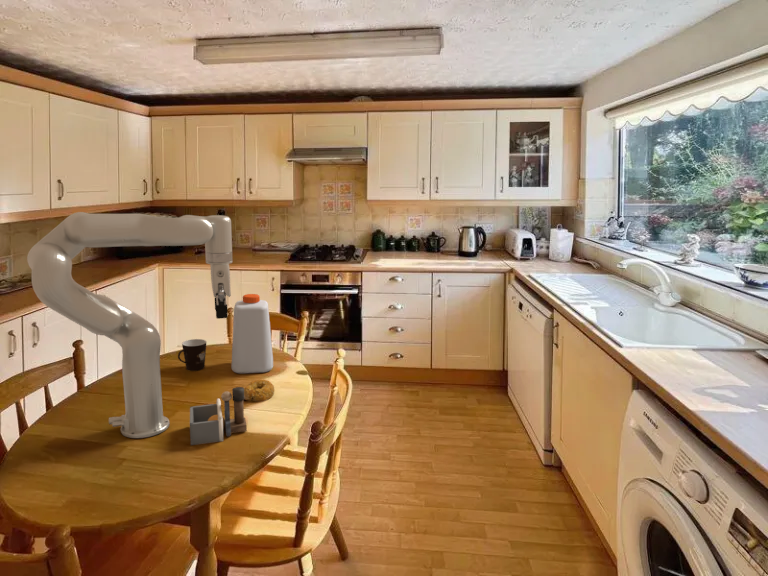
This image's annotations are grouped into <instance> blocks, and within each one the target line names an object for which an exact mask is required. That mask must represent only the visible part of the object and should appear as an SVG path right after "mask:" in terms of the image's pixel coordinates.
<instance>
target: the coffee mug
mask: <svg viewBox="0 0 768 576" xmlns="http://www.w3.org/2000/svg"><path fill="white" fill-rule="evenodd" d="M181 345H182V349H181V350H180V351H179V352H178V354H177V359H178V360H179V361H180V362H181V363H183V364H185V369H186V370H187V371H189V372H197V371H201V370H204V369H205V367H206V354H207V353H206V351H207V340H205V339H199V338H198V339H197V338H196V339H195V338H194V339H193V338H192V339H186V340H183V342H182V343H181ZM182 353H183V357H184V360H182V359H181V357H180V356H181V354H182Z"/></svg>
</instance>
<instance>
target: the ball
mask: <svg viewBox="0 0 768 576" xmlns="http://www.w3.org/2000/svg"><path fill="white" fill-rule="evenodd" d="M213 420H218V415H213V416H211V417H210V418H209V419H208V421H213ZM224 429H225V417H223V430H224Z"/></svg>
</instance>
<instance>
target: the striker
mask: <svg viewBox="0 0 768 576" xmlns="http://www.w3.org/2000/svg"><path fill="white" fill-rule="evenodd" d="M244 388H245V387H243V386H237V387H233V388H232V390H231V392H232V393H231V392H230V391H228V390H227V391H226V390H225V391H223V392H222V394H221V400H222V401H223V403H224V404H223V405H224V413H223V414H224V420H225V427H224V429H225V435H226V437H231V436H232V433H234V434H235V433H240V432H247V431H248V429H247V421H246V417H245V412H244ZM231 400H232V401H233V414H234V415H233V416H234V418H231V413H230V411H231V410H230V407H231V406H230V401H231Z"/></svg>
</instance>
